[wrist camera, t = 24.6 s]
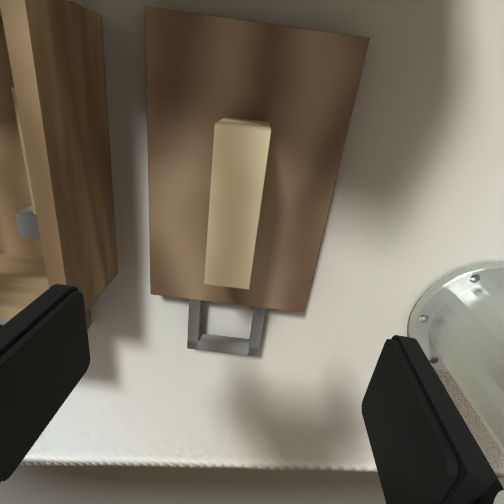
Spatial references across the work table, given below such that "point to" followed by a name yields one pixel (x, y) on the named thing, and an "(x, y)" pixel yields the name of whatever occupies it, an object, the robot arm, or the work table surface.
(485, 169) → the work table surface
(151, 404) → the work table surface
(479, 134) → the work table surface
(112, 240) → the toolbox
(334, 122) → the lid
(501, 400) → the robot arm
